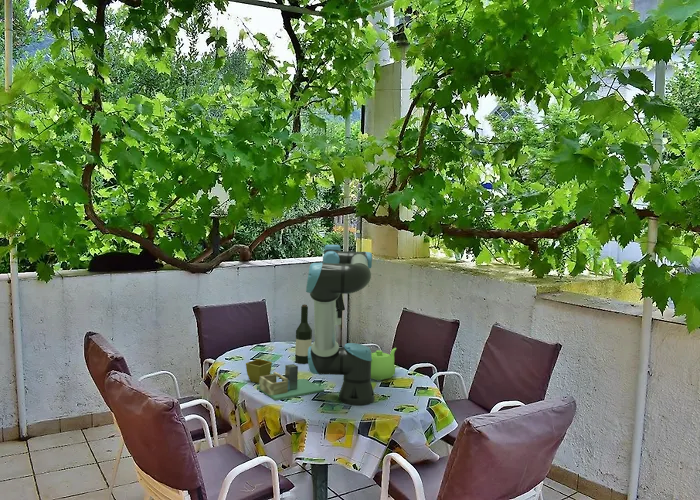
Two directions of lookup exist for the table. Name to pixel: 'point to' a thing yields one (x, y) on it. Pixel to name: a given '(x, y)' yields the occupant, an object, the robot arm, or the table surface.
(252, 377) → the flower pot
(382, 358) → the teapot
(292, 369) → the block
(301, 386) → the board
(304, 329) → the wine bottle
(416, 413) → the table surface
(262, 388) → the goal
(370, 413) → the table surface
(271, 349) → the table surface
